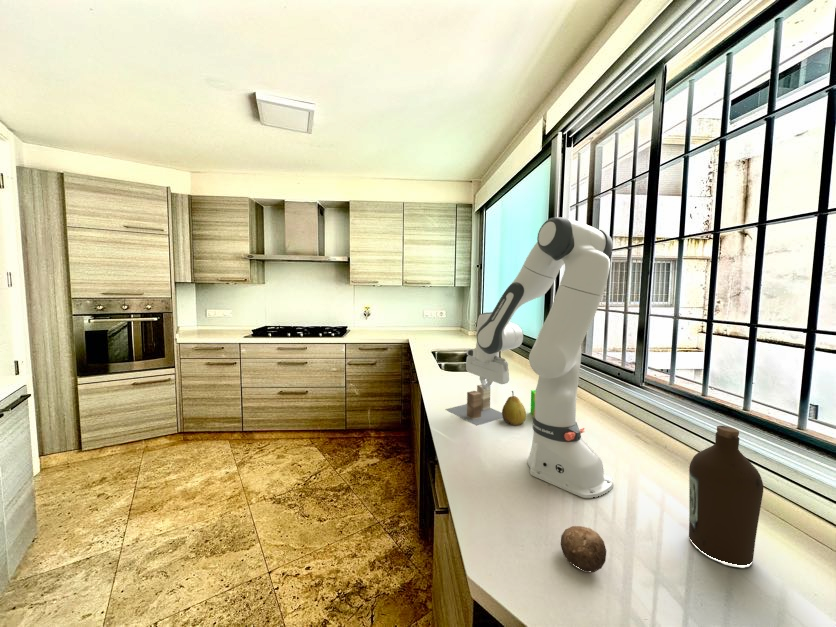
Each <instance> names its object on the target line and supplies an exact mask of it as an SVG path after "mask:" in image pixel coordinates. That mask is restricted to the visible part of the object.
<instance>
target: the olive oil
mask: <svg viewBox="0 0 836 627" xmlns="http://www.w3.org/2000/svg"><path fill="white" fill-rule="evenodd" d="M739 435H740V430H739V429H736V428H734V427H731V426H727V425H717V426H716V432H715V439H714V441H715V443H713V445H711V446H708V447H706V448H705V449H703V450H700V451H699V452H697V453H696V454H695V455H693V457H692V459H691V461H690V463H689V467H688V468H689V469H688V471H689V474H688V476H689V477H688V478H689V480H688V482H689V483H688V484H689V485H688V486H689V487H688V488H689V489H688V490H689V491H688V492H689V494H688V495H689V496H688V498H689V501H688V502H689V507H688V508H689V511H688V512H689V514H688V516H689V518H688V522H689V523H688V538H689V537H690V539H691V540H692V542H693V543H694V544H695V545H696V546H697V547H698V548H699V549H700V550H701V551H703V552H704V553H706V554H707V555H709V556H711V557H713V558H716V559H718V560H721V561H725V562H728V563H732V564H737V565H747V564H750V563H751V562H752V561H753V562H754V555H755V548H756V547H755V546H756V538H757V532H758V525H759V518H760V512H761V506H762V501H763V496H764V482H763V479H762V477H761V474H760V472H759V470H758V469H757V468H756V467H755V465H753V463H751V461H749V459H748V458H747V457H746V456H744V454H742V452H741V451H740V450H739V448H740V447H739V446H740V437H739Z"/></svg>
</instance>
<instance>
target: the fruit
mask: <svg viewBox="0 0 836 627" xmlns="http://www.w3.org/2000/svg"><path fill="white" fill-rule="evenodd" d="M511 392H512V394H511V396H509V397H508V398H507V399H506V401H505V403H504V405H503V407H502V410H501V413H502V416H503V418H502V419H503V420H504V421H505V422H506V423H508V424H510V425H513V426H519V425H522V424H523V423H524V422H525V421H526V419H527V411H526V408H525V406H524V404H523V403H522V402H521V400H520V399H519V398H518V397H517V396H516V395H514V390H512V391H511Z"/></svg>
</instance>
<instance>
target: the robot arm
mask: <svg viewBox="0 0 836 627" xmlns="http://www.w3.org/2000/svg"><path fill="white" fill-rule="evenodd" d="M536 239H537V242H536V243H535V244H534V245H533V247H532V248H531V250H530V252H529V253H528V255H527V257H526V259H525V260H524V263H523V265H522V267H521V268H520V270H519V272H518V274H517V275H516V277H515V279H514V280H513V281H512V282H511V283H510V284H509V286H508V287H507V288H506V290H505V291H504V292H503V293H502V295H501V297H500V298H499V301H498V302H497V304H496V306H495V307H494V309H493V311H491V312H483V313H481V314H479V316H478V319H477V323H476V332H475V333H476V344H475V348H471V349H467V350H466V355H467V356H466V360H465V361H466V362H465V369H466V371H467V373H469V374H473V375H475V376H478V377H479V381H480V385H482V388H483V389H485V390H490V391H491V385H492V384H493V382H494V383H496V384H500V385H506V384H508V383H509V381H510V372H509V371H510V369H509V363H508V361H507V360H506V358H504V357H500V352H504V351H509V350H515V349H516V348H519V347H520V346H522V343H524V342H523V341H524V332H523V329H522V327H521V326H520V325H519V324H517V323H513V322H511V320H512V317H513V316H514V314H515V313H516V311H517V310H518V309H519V308H520V307H522V306H523V305H524V304H526V303H528V302H531V301H533V300H536V299H538V298H540V297H543V296H544V295H546V294H547V292H548V291H549V290H550V289H551V287H552V286H553V284H554V282H555V281H556V278H557V277H558V275H559V273H560V271H561V268H562V267H563V266H564V272H563V274H562V278H561V280H560V282H559V285H558V288H557V291H556V294H555V296H554V299H553V302H552V305H551V308H550V310H549V312H548V314H547V317H546V319H545V321H544V322H543V325H542V327H541V329H540V331H539V333H538V335H537V338H536V340H535V341H534V344H533V346H532V348H531V350H530V352H529V355H528V362H529V367H530V368H531V369H532V371H533V372H534V373H535V374H537V375H538V380H537V383H536V387H535V390H536V391H535V415H534V416H533V415H532V416H533V417H532V431H533V433H532V434H533V436H532V443H531V447H530V452H529V455H528V458H527V465H528V467H529V473H530V476H532V477H534V478H537V479H539V480H541V481H544V482H546V483H549V484H550V485H552V486H555V487H558V488H560V489H562V490H564V491H567V492H569V493H571V494H573V495H576V496H578V497H580V498H582V499H594V498H593V497H595V498H598V496H599V497H601V495H602V496H604V495H606V494H607V493H609V492H610V491H611V490H612V489H613V486H614V480H613V478H612V477H611V476H609V475H607V474H606V473H605V469H604V465H603V461H602V459H601V457H600V456H599V455H598V454H597V453H596V452H595V451H594V450H593V449H592V447H591V446H590V445H589V444H588V443H587V442H586V441H585V440H584V439H583V437H582V435H581V434H583V433H585V427H583V428H581V429H580V428H579V425H578V422H577V421H576V417H577V416H576V414H577V395H578V386H579V381H580V380H579V379H580V371H581V364H582V353H583V352H582V344H583V342H584V340H585V338H586V337H587V333H588V331H589V329H590V327H591V326H592V323H593V321H594V318H595V316H596V313H597V311H598V308H599V306H600V303H601V300H602V297H603V296H604V292H605V288H606V287H607V283H608V278H609V274H610V269H611V260H610V258H609V257H610V255H611V253H612V251H613V245H614V243H613V240H612V237H611V236H610V235H609V234H608V233H606V232H605V231H603V229H600V228H599V229H597V228H595V227H594V226H591V225H588V224H587V223H584V222H582V221H579V220H578V221H577V220H574V219H569V218H566V217H561V216H560V217H558V216H557V217H556V216H555V217H550V218H548V219H547V220H546V221H545V222H543V224H542V225H541V227H540V228H539V230H538V232H537V238H536ZM608 491H609V492H608ZM605 493H606V494H605ZM603 494H604V495H603Z"/></svg>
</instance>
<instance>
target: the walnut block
mask: <svg viewBox="0 0 836 627" xmlns="http://www.w3.org/2000/svg"><path fill="white" fill-rule="evenodd" d="M466 394H467V395H466V396H467V397H466V404H467V416H468V417H470V418H472V419H477V418H481V393H479V392H477V390H472V391H468V392H467V393H466Z"/></svg>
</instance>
